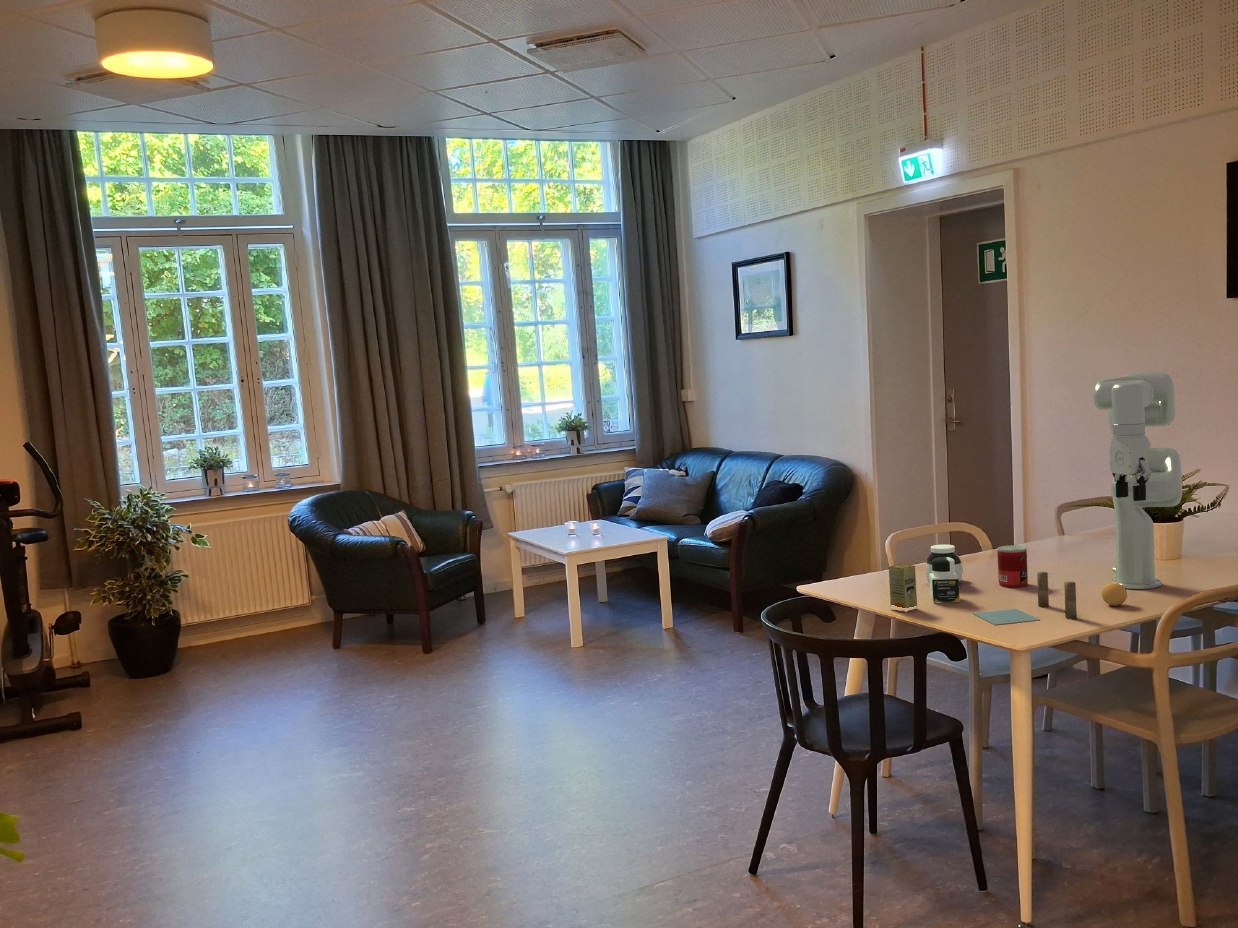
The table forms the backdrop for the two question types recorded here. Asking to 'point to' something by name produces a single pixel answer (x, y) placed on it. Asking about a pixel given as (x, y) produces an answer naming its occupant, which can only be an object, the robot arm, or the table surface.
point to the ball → (1114, 594)
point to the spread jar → (944, 552)
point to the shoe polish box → (902, 585)
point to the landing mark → (1006, 616)
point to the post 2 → (1070, 600)
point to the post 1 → (1042, 589)
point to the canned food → (1012, 566)
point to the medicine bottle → (944, 581)
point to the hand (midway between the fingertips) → (1130, 498)
